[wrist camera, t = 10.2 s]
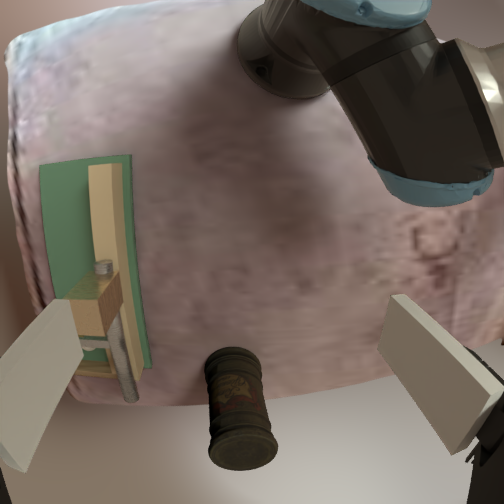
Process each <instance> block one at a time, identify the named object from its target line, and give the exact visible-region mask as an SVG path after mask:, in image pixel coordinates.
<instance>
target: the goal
mask: <svg viewBox="0 0 504 504" xmlns="http://www.w3.org/2000/svg"><path fill="white" fill-rule="evenodd" d="M105 349H106V353H107V357H108V360H109V362H105V361H92V360H81V362H80V363H79V365H78V367H77V369H76V370H75V372H74V374H73V375H81V376H91V377H102V378H115V379H118V377H117V374H116V370H115V367H114V363H113V359H112V356H111V352H110V349H108V348H105Z"/></svg>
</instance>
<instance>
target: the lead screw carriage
mask: <svg viewBox="0 0 504 504" xmlns="http://www.w3.org/2000/svg"><path fill="white" fill-rule="evenodd" d="M93 266H94V271H89V272H88V273H87V274H86V275H85V276H84V277H83V278H82V279H81V280H80V281H79V282H78V283H77V284H76V285H75V286H74V287H73V288H72V289H71V290H70V291H69V292H68V293H67V294H66V295H65V296H64V298H63V299H64V300H69V302H70V306H71V310H72V314H73V318H74V322H75V326H76V330H77V334H78V337H79V341H80V344H81V347H92V348H108V349H110V352H111V356H112V359H113V363H114V367H115V370H116V374H117V377H118V381H119V384H120V388H121V391H122V394H123V397H124V400H125V401H126V402H128V403H134V402H136V401H138V400H139V394H138V390H137V386H136V382H135V379H134V375H133V371H132V366H131V362H130V358H129V354H128V349H127V345H126V340H125V335H124V330H123V325H122V320H121V314H120V308H121V306H122V304H123V302H124V300H123V294H122V287H121V280H120V272H119V271H114V270H113V262H112V260H107V259H106V260H99V261H96V262H94V263H93ZM106 335H107V336H106Z"/></svg>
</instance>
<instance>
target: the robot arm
mask: <svg viewBox="0 0 504 504" xmlns="http://www.w3.org/2000/svg"><path fill="white" fill-rule="evenodd" d="M431 5H432V0H265V2H264V4H262V5H261V6H259V7H257V8H256V9H254V10H253V11H252V12H251V13H250V14H249V15H248V16H247V17H246V19H245V20H244V22H243V24H242V26H241V28H240V32H239V35H238V40H237V52H238V56H239V60H240V62H241V64H242V67H243V68H244V70H245V71H246V73H247V74H248V75H249V77H250V78H251V79H252V80H253V81H254V82H255V83H257V84H258V85H259V86H261V87H262V88H264V89H265V90H267V91H269V92H271V93H273V94H276V95H278V96H282V97H286V98H292V99H306V98H311V97H315V96H318V95H320V94H323V93H324V92H326V91H328V90H330V89H331V90H332V92H333V93H334V95H335V97H336V98H337V100H338V102H339V103H340V105H341V107H342V108H343V110H344V112H345V113H346V115H347V117H348V119H349V120H350V122H351V124H352V126H353V128H354V129H355V131H356V133H357V135H358V137H359V139H360V140H361V142H362V144H363V146H364V148H365V150H366V152H367V154H368V159H369V161H370V163H371V164H372V166H373V167H374V168H375V169H376V170H377V172H378V173H379V175H380V177H381V179H382V181H383V183H384V185H385V186H386V188H387V189H388V191H389V192H390V193H391V194H392V195H394V196H396V197H397V198H398V199H400V200H401V201H403V202H405V203H408V204H412V205H415V206H421V207H445V206H452V205H457V204H461V203H464V202H467V201H469V200H471V199H472V197H473V195H481V194H483V193H484V192H485V191H486V190H487V189H488V188H489V187H490V185H491V183H492V181H493V175H494V169H495V168H500V167H504V43H500V44H497V45H494V46H490V47H487V48H478V47H475V46H474V45H471V44H469V43H467V42H465V41H463V40H460V39H458V38H455V39H453V40H450V41H447V42H445V43H439V41H438V40H437V39H436V37H435V35H434V33H433V32H432V30H431V28H430V27H429V25H428V24H427V22H426V20H425V18H426V17H427V15H428V13H429V11H430V9H431ZM377 350H378V351H379V352H380V354H381V355H382V356H383V358H384V359H385V360H386V362H387V363H388V365H389V366H390V367H391V369H392V370H393V371H394V373H395V374H396V376H397V377H398V378H399V380H400V381H401V383H402V384H403V385H404V387H405V388H406V390H407V391H408V392H409V394H410V395H411V397H412V398H413V400H414V401H415V402H416V404H417V405H418V407H419V408H420V410H421V411H422V412H423V414H424V415H425V417H426V418H427V420H428V421H429V423H430V424H431V426H432V427H433V429H434V430H435V431H436V433H437V434H438V436H439V437H440V439H441V440H442V442H443V443H444V445H445V446H446V448H447V449H448V451H449V452H450V454H451V455H454V454H455V453H458V452H460V451H462V450H464V449H466V448H467V447H468V446H469V445H470V443H471V442H472V440H473V439H474V437H475V436H476V437H477V438H478V440H479V442H478V444H477V445H476V446H475V448H474V449H473V450H472V451H471V453H470V454H469V456H468V457H467V458H466V461H465V462H468V461H469V460H470V459H471V458H472V456H473V455H474V460H473V461H472V462H471V463H472V464H473V470H472V477H471V483H470V489H469V494H468V499H467V504H504V380H503V379H502V378H501V377H500V376H499V375H498V374H497V373H496V372H495V371H494V370H493V369H491V368H490V367H488V365H487V364H486V363H485V362H484V361H482V359H481V358H480V357H479V356H478V355H477V354H476V353H475V352H474V351H472V350H470V349H468V348H467V347H465V346H462V345H461V344H460V343H459V342H458V341H457V340H456V339H455V338H454V337H453V336H451V335H450V334H449V333H448V332H447V331H446V330H445V329H444V328H443V327H442V326H440V325H439V324H438V323H437V322H436V321H435V320H434V319H433V318H432V317H430V316H429V315H428V314H427V313H426V312H425V311H424V310H422V309H421V308H420V307H419V306H418V305H417V304H416V303H414V302H413V301H412V300H411V299H410V298H409V297H407V296H406V295H405V294H401V295H390V299H389V304H388V308H387V313H386V317H385V321H384V325H383V329H382V333H381V337H380V341H379V345H378V348H377ZM83 356H84V354H83V351H82V348H81V344H80V341H79V337H78V334H77V330H76V326H75V322H74V318H73V314H72V310H71V306H70V302H69V300H64V299H54V300H53V301H52V302H51V303H50V304H49V305H48V306H47V307H46V308H45V309H44V310H43V311H42V312H41V313H40V314H39V315H38V316H37V317H36V319H35V320H34V321H33V322H32V323H31V324H30V325H29V326H28V327H27V328H26V329H25V331H24V332H23V333H22V334H21V335H20V336H19V337H18V339H17V340H16V341H15V342H14V343H13V344H12V345H11V347H10V348H9V349H8V350H7V351H6V352H5V354H4V355H3V356H2V357H0V457H1V458H2V459H3V461H4V462H5V463H6V464H7V465H8V466H9V467H11V468H14V469H16V470H18V471H21V472H23V473H26V472H27V469H28V467H29V464H30V462H31V459H32V457H33V455H34V453H35V451H36V448H37V446H38V444H39V442H40V439H41V437H42V435H43V433H44V431H45V429H46V427H47V424H48V423H49V420H50V418H51V416H52V414H53V412H54V410H55V408H56V406H57V404H58V402H59V401H60V399H61V397H62V395H63V393H64V391H65V389H66V387H67V385H68V383H69V382H70V380H71V378H72V376H73V374H74V372H75V370H76V369H77V367H78V365H79V363H80V362H81V360H82V358H83ZM0 504H12V502H11V499H10V496H9V493H8V490H7V487H6V484H5V481H4V478H3V475H2V471H1V468H0Z"/></svg>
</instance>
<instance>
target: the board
mask: <svg viewBox="0 0 504 504" xmlns="http://www.w3.org/2000/svg"><path fill="white" fill-rule="evenodd" d="M39 169H40V191H41V205H42V215H43V225H44V233H45V241H46V248H47V254H48V260H49V266H50V271H51V277H52V282H53V287H54V291H55V296H56V299H63V298H64V296H65V295H66V294H67V293H68V292H69V291H70V290H71V289H72V288H73V287H74V286H75V285H76V284H77V283H78V282H79V281H80V280H81V279H82V278H83V277H84V276H85V275H86V274H87V273H88V272H89V271H94V266H93V263H94V262H96V261H99V260H106V259H107V260H112V262H113V270H114V271H119V272H120V280H121V287H122V294H123V300H124V302H123V304H122V306H121V308H120V314H121V320H122V325H123V330H124V335H125V340H126V345H127V349H128V354H129V358H130V362H131V366H132V371H133V375H134V379H135V381H140V378H141V374H142V370H143V368H152V359H151V354H150V348H149V343H148V337H147V331H146V325H145V318H144V312H143V305H142V297H141V289H140V281H139V273H138V263H137V253H136V242H135V229H134V213H133V192H132V155H118V156H108V157H98V158H89V159H80V160H73V161H65V162H58V163H51V164H45V165H39ZM106 336H107V335H106ZM81 348H82V347H81ZM82 351H83V354H84V356H83V358H82V360H92V361H105V362H109V360H108V357H107V353H106V349H105V348H95V349H94V350H92V351H86V350H84V349H83V348H82Z"/></svg>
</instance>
